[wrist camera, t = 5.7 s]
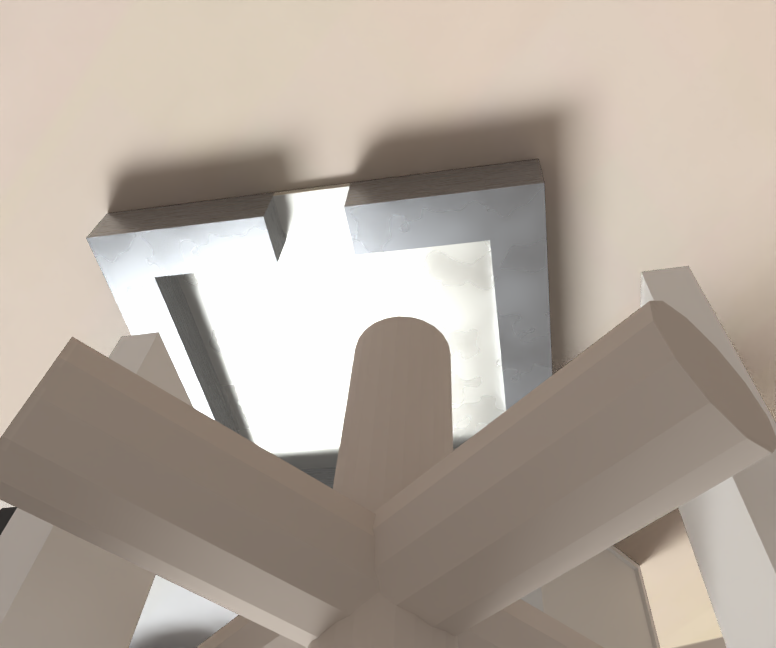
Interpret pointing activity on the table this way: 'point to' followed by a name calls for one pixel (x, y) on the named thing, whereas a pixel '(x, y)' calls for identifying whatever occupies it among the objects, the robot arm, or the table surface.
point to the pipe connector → (390, 485)
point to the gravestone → (601, 601)
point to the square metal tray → (338, 295)
